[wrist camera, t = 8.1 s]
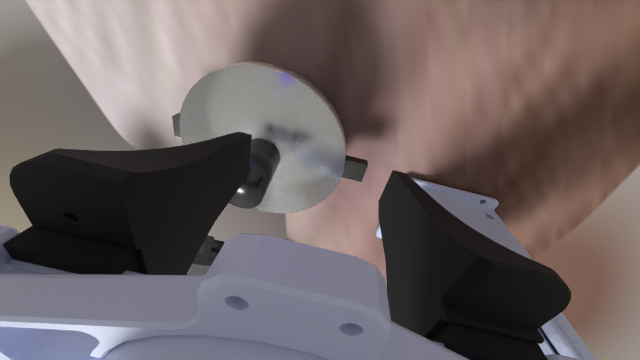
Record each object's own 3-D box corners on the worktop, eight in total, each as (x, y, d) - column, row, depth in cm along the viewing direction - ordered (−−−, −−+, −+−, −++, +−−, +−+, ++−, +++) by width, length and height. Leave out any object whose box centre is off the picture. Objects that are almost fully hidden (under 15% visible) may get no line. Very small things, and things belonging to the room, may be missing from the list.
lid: (362, 73, 15) (363, 112, 10) (334, 206, 22) (327, 265, 17) (177, 44, 15) (95, 69, 10) (210, 185, 22) (170, 237, 18)
